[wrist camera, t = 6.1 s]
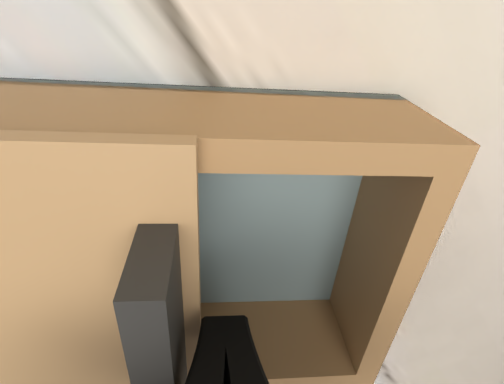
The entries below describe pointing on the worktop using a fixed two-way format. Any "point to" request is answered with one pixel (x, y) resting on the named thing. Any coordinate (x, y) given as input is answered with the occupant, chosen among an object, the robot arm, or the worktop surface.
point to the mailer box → (290, 205)
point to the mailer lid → (98, 257)
